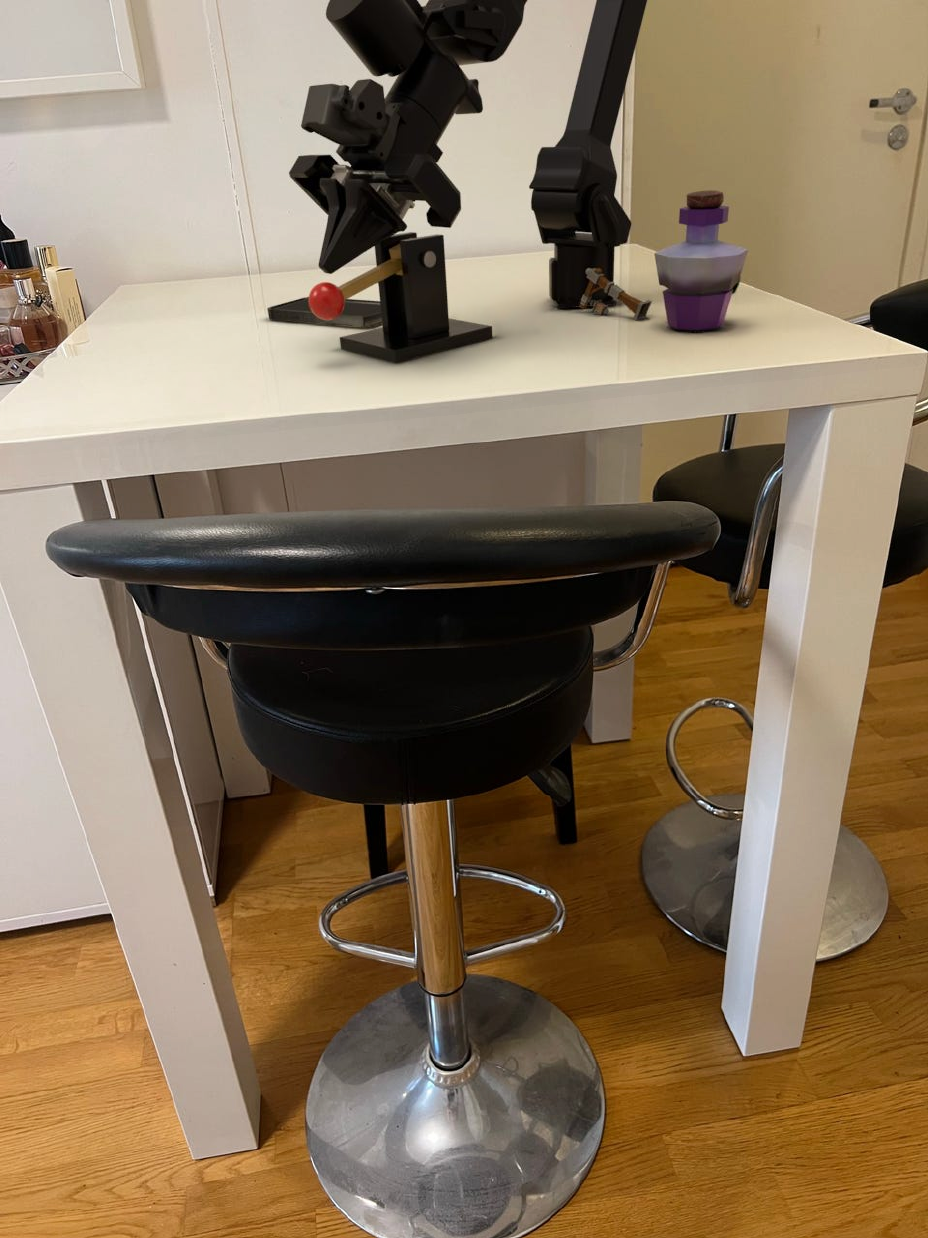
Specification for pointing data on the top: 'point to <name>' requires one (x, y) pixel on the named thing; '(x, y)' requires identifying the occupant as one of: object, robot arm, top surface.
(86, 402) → the top surface
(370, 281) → the lever
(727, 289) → the potion bottle
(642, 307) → the wooden post with brackets
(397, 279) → the bracket
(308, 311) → the phone
